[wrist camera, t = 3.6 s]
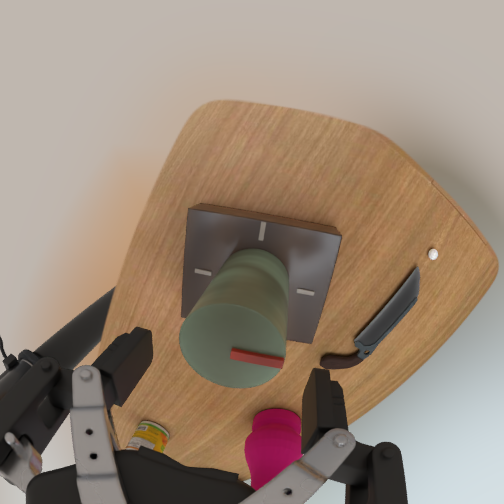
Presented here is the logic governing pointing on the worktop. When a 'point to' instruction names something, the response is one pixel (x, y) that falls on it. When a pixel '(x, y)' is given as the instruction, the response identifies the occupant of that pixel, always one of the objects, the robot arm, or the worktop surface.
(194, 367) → the knob
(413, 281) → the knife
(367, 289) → the worktop surface
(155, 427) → the supplement bottle
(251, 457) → the pepper mill
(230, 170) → the worktop surface
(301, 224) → the dark brown base block
